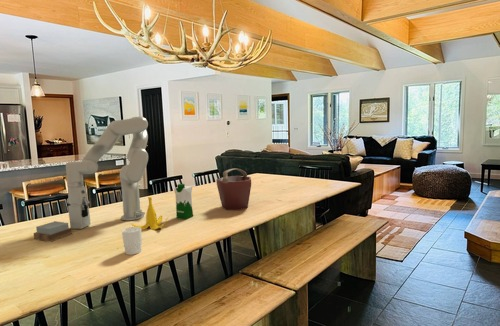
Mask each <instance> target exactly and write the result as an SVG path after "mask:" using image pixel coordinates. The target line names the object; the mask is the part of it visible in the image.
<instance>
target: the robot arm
mask: <svg viewBox="0 0 500 326" xmlns="http://www.w3.org/2000/svg"><path fill="white" fill-rule="evenodd" d="M148 126H149V122H148V120H147V118H145V117H144V116H133V117H131V118H126V119H119V120H117V119H116V120H112V121H110V122H109V124H108V125H107V127H106V128H105V130H104V131H103V132H102V134H101V135H100V136H99V138H98V139H97V141H96V142H95V143H94V144H93V146H92V147H91V148H90V149H89V150H88V151H87V152H86V154H85V156H84V157H83V158H82V159H81V161H78V160H77V161H75V160H74V161H69V162H66V163H65V172H66V173H65V174H66V180H67V187H68V188H67V196H68V198H67V199H66V203H67V207H68V206H70V205H79V206H81V207H82V209H83V210H82V217H86V216H88V207H89V208H90V204H91V202H90V201H89V199H88V193H87V189H86V187H85V186H84V175H93V174H96V172H97V171H98V170H99V164H98V162H99V161H100V159H101V158H102V157H103V156H105V154H107V153H109V152H110V151H111V150H112V149H113V148H114V146H115V145H116V143H117V141H118V140H119V139H120V137H121V136H125V135H126V136H127V135H132V140H131V143H130V146H129V148H128V152H127V154H126V159H127V160H128V162H129V163H128V164H126V165H123V166H122V167H121V168H120V170H119V180H120V186H121V195H122V196H121V198H122V208H123V209H122V210H123V215H121V217H120V219H121V220H123V221H134V220H135V221H136V220H139V219H142V218H144V215H145V214H146V212H144V211H143V210H142V209H141V201H140V199H141V198H140V188H139V187H140V186H139V182H140V181H141V180H142V178H143V176H144V173H145V170H146V168H147V165H148V162H149V153H148V152H147V150H146V148H147V144H148V139H149V134H148V131H147V129H148ZM83 205H84V207H83Z"/></svg>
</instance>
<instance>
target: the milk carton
mask: <svg viewBox="0 0 500 326" xmlns="http://www.w3.org/2000/svg"><path fill="white" fill-rule="evenodd" d="M173 190H174V194H175V208H176V213H175V215H176V217H175V218H176V219H181V220H188V219H191V218H192V217H193V216H194V211H193V198H192V194H193V191H192V190H193V186H186V184H185V183H178V184H177V187H174V188H173Z"/></svg>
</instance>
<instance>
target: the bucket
mask: <svg viewBox="0 0 500 326" xmlns="http://www.w3.org/2000/svg"><path fill="white" fill-rule="evenodd" d="M235 170H236V171H238V172H240V173H241V174H242V175H231V176H228V175H229V174H228V173H230V172H232V171H235ZM222 176H223V177H220V178H217V179H216V187H217V192H218V195H219V199H220V203H221V208H223V209H225V210H226V211H240V210H246V209H248V207H249V201H250V196H251V190H252V189H251V188H252V178H251V176H248V174H247V172H246V171H245V170H243V169H240V168H229V169H226V170H224V171H223V172H222Z"/></svg>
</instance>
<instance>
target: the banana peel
mask: <svg viewBox="0 0 500 326" xmlns="http://www.w3.org/2000/svg"><path fill="white" fill-rule="evenodd" d="M152 198H153V197H152V196H148V197H147V199H148V207H147V210H146V217H145V222H146V223H145V225H137V224H134V223H130V225H131V226H132V227H140V228H141V230H147V229H148V228H150V229H151V230H157V229H162V228H163V227H164V224H161V223H162V221H163V215H160V216H159V218H158V217H157V213H156V210H155V208H154V206H153V202H152V201H153V200H152Z"/></svg>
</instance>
